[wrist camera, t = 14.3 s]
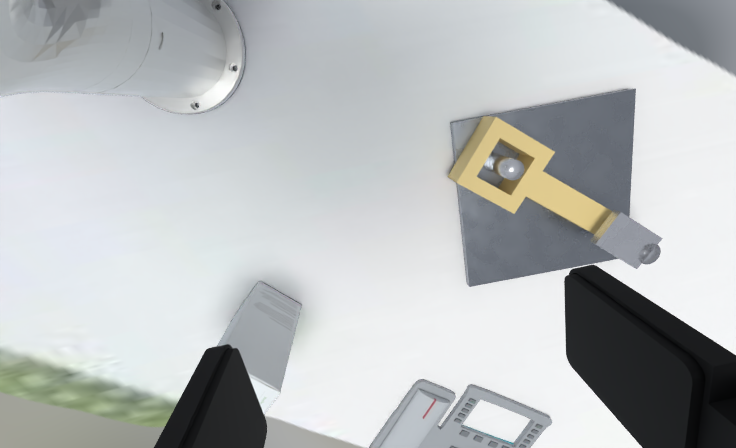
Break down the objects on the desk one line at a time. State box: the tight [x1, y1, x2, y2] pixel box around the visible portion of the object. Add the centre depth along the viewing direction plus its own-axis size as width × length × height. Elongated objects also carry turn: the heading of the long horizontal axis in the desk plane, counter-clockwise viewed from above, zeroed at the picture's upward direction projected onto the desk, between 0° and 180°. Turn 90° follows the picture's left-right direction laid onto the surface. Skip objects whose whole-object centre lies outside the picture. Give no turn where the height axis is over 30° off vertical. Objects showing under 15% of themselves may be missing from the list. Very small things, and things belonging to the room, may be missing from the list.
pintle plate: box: [450, 89, 662, 287], centre depth 40 cm, size 20×20×7 cm
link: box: [448, 116, 612, 235], centre depth 40 cm, size 18×7×4 cm, turn 62°
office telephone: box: [369, 379, 552, 448], centre depth 54 cm, size 23×3×20 cm
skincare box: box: [217, 281, 301, 415], centre depth 39 cm, size 8×7×16 cm
